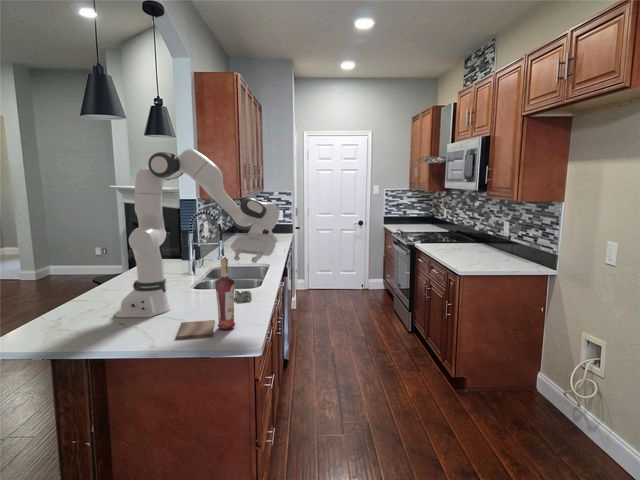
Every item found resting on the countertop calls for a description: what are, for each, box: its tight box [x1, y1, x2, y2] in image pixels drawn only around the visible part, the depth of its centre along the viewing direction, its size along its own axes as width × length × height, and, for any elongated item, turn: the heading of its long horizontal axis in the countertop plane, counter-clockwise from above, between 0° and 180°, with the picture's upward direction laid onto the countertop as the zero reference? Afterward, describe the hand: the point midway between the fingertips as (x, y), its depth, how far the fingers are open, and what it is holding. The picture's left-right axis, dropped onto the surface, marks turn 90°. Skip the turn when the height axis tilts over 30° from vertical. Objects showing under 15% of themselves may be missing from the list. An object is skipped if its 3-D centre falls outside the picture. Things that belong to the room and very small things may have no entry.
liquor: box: [214, 257, 236, 331], centre depth 154 cm, size 7×7×28 cm
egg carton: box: [234, 289, 253, 303], centre depth 195 cm, size 11×8×4 cm
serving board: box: [175, 319, 216, 340], centre depth 153 cm, size 13×15×1 cm
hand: (244, 261), depth 163 cm, fingers open, 8 cm apart
